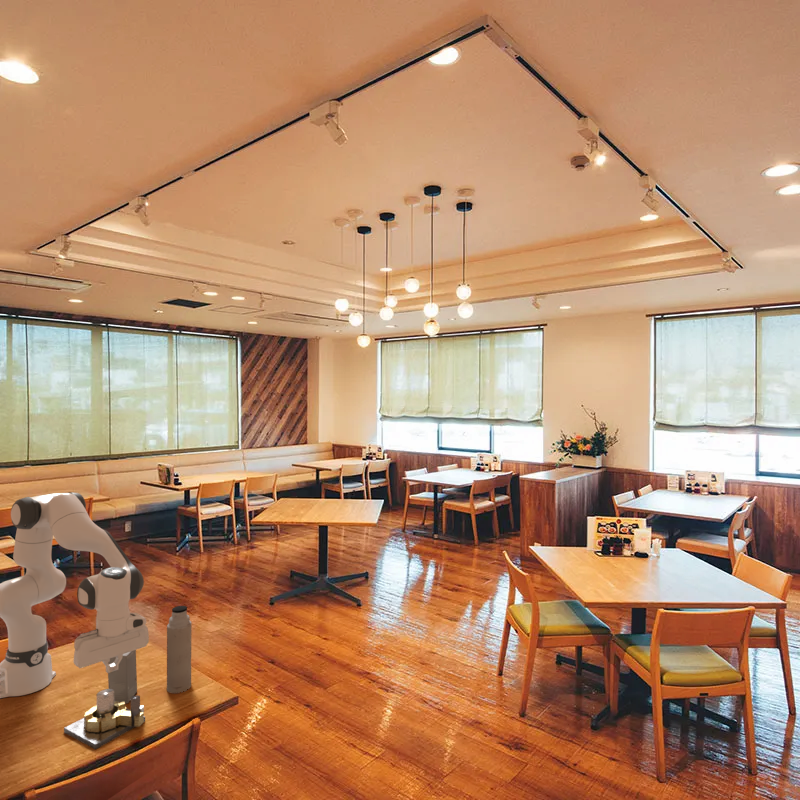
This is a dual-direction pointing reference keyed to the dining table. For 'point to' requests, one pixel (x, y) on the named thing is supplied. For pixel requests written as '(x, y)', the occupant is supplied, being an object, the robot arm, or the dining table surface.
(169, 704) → the dining table surface
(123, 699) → the skincare box
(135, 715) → the tan ring with handle
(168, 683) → the thermos bottle
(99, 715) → the grey peg base
